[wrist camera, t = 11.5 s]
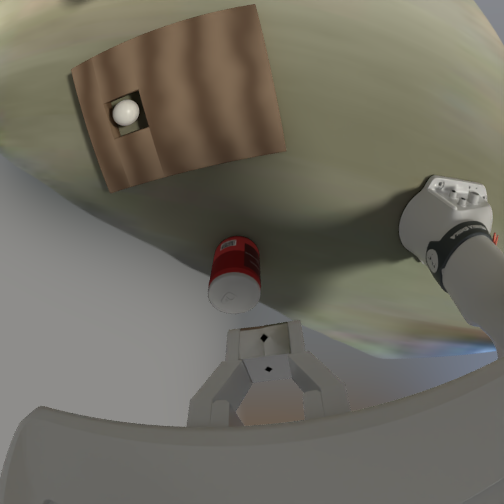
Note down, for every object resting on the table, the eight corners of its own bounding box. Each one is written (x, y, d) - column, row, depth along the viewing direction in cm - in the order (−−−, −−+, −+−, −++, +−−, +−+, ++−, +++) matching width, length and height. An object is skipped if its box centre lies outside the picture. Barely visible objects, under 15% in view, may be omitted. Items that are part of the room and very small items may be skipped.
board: (255, 8, 28) (255, 4, 26) (284, 147, 40) (286, 151, 38) (79, 68, 31) (71, 69, 29) (116, 187, 43) (110, 193, 41)
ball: (140, 93, 33) (115, 101, 31) (147, 118, 36) (123, 127, 33) (128, 99, 36) (105, 107, 34) (134, 122, 38) (113, 131, 36)
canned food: (208, 261, 52) (199, 304, 42) (226, 227, 48) (221, 266, 39) (246, 277, 54) (245, 320, 44) (267, 245, 50) (270, 287, 40)
